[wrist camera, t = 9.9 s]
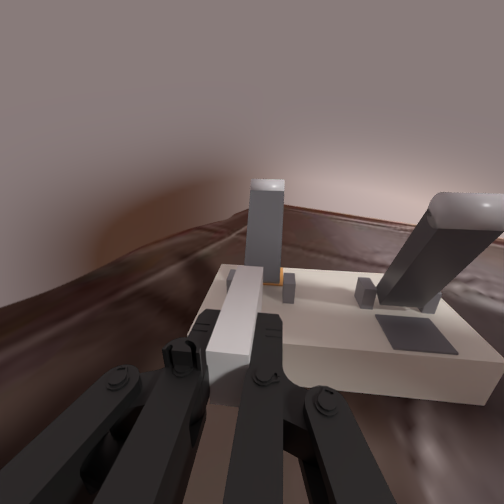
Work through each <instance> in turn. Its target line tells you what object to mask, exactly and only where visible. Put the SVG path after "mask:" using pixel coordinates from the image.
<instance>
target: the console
mask: <svg viewBox="0 0 504 504" xmlns="http://www.w3.org/2000/svg"><path fill="white" fill-rule="evenodd" d="M242 266H244V265H242ZM237 267H238V265H228V264H222V265H221V267H220V269H219V271H218V273H217V275H216V277H215V279H214V281H213V283H212V285H211V287H210V289H209V291H208V293H207V295H206V297H205V299H204V301H203V303H202V305H201V307H200V309H199V311H198V314H197V316H196V318H195V320H194V322H193V324H192V326H191V328H190V330H189V332H188V334H187V337H188V335H189V333H190V331H191V329H192V327H193V325H194V324H195V321H196V319H197V317H198V315H199V314H200V313H202V312H203V311H204V310H205V309H215V310H221V309H222V306H223V304H224V301H225V298H226V296H227V293H228V290H229V288H230V285H231V282H232V280H233V277H234V274H235V272H236V269H237ZM383 275H384V274H379V273H362V272H346V271H329V270H312V269H295V268H280V283H279V284H274V283H263V292H262V310H261V313H271V314H279V316H280V318H281V320H282V321H283V361H282V365H283V371H284V373H285V375H286V376H287V378H288V379H289V380H290V381H292V382H293V383H294V384H296V385H298V386H300V387H309V388H312V387H315V386H318V385H321V386H328V387H330V388H333V389H335V390H338V391H347V392H357V393H366V394H376V395H386V396H395V397H405V398H415V399H424V400H434V401H443V402H453V403H463V404H472V405H482V406H484V405H485V404H486V402H487V400H488V399H489V397H490V395H491V394H492V392H493V390H494V389H495V387H496V385H497V384H498V382H499V380H500V378H501V377H502V375H503V373H504V358H503V357H502V356H501V355H500V354H499V353H498V352H497V351H496V350H495V349H494V348H493V347H492V346H491V345H490V344H489V343H488V342H487V341H486V340H485V339H484V338H483V337H481V336H480V335H479V334H478V333H477V332H476V331H475V330H474V329H473V328H472V327H471V326H470V325H469V324H468V323H467V322H466V321H465V320H464V319H463V318H462V317H461V316H460V315H459V314H458V313H456V312H455V311H454V310H453V309H452V308H451V307H450V306H449V305H448V304H447V303H446V302H445V301H444V300H443V299H442V298H441V296H442V293H441V292H439V293H438V294H437V295H435V296H434V297H433V298H432V299H431V300H430V301H429V302H428V303H427V304H426V305H425V306H424V307H423V308H416V307H402V306H388V305H380V304H379V300H378V296H377V288H376V286H377V285H378V283H379V282H380V280H381V279H382V277H383Z"/></svg>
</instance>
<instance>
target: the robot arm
mask: <svg viewBox="0 0 504 504" xmlns="http://www.w3.org/2000/svg"><path fill="white" fill-rule="evenodd" d="M262 292H263V267H257V266H242V265H238V267H237V269H236V272H235V274H234V277H233V280H232V282H231V285H230V288H229V290H228V293H227V296H226V298H225V301H224V304H223V306H222V309H221V310H215V309H205V310H204V311H203V312H202V313H200V314H199V315H198V317H197V319H196V321H195V324H194V325H193V327H192V329H191V331H190V333H189V335H188V337H182V338H177V339H174V340H172V341H170V342H169V343H167V344H166V345H165V346H164V347H163V349H162V353H163V358H164V364H165V367H164V368H162V369H159V370H155V371H150V372H144V373H139V370H138V368H136V367H135V366H133V365H127V364H126V365H120V366H117V367H115V368H112V369H110V370H109V371H108V372H106V373H105V374H104V375H102V376H101V377H100V378H99V379H98V380H97V381H96V382H95V383H94V384H93V385H92V386H91V387H89V388H88V389H87V390H86V391H85V392H84V393H83V394H82V395H81V396H80V397H79V398H78V399H77V400H75V401H74V402H73V403H72V404H71V405H70V406H69V407H68V408H67V409H66V410H65V411H64V412H62V413H61V414H60V415H59V416H58V417H57V418H56V419H55V420H54V421H53V422H52V423H51V424H50V425H48V426H47V427H46V428H45V429H44V430H43V431H42V432H41V433H40V434H39V435H38V436H37V437H35V438H34V439H33V440H32V441H31V442H30V443H29V444H28V445H27V446H26V447H25V448H24V449H23V450H21V451H20V452H19V453H18V454H17V455H16V456H15V457H14V458H13V459H12V460H11V461H10V462H8V463H7V464H6V465H5V466H4V467H3V468H2V469H1V470H0V504H182V503H183V499H184V496H185V492H186V488H187V485H188V481H189V478H190V474H191V471H192V467H193V463H194V460H195V456H196V453H197V449H198V446H199V442H200V438H201V435H202V431H203V428H204V424H205V421H206V405H207V402H208V399H209V397H210V404H217V405H225V406H233V407H239V411H238V417H237V423H236V429H235V434H234V440H233V446H232V452H231V458H230V463H229V469H228V475H227V481H226V487H225V492H224V498H223V504H283V450H285V451H286V452H288V453H290V454H292V455H294V456H296V457H297V458H298V460H299V464H300V468H301V472H302V476H303V480H304V484H305V488H306V492H307V496H308V500H309V504H397V503H396V501H395V499H394V497H393V495H392V493H391V491H390V489H389V487H388V485H387V483H386V481H385V479H384V477H383V475H382V473H381V471H380V469H379V467H378V465H377V463H376V460H375V458H374V456H373V454H372V452H371V450H370V448H369V446H368V444H367V442H366V440H365V438H364V436H363V434H362V432H361V430H360V428H359V426H358V424H357V422H356V420H355V418H354V416H353V414H352V412H351V410H350V408H349V406H348V403H347V402H346V400H345V399H344V397H343V396H342V395H341V394H340V393H339V392H337V391H336V390H335V389H333V388H330V387H328V386H321V385H318V386H315V387H312V388H311V389H310V390H307V389H305V388H302V387H300V386H298V385H296V384H294V383H293V382H292V381H290V380H289V379H288V378H287V376H286V375H285V373H284V371H283V365H282V361H283V321H282V320H281V318H280V316H279V314H271V313H261V310H262Z"/></svg>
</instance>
